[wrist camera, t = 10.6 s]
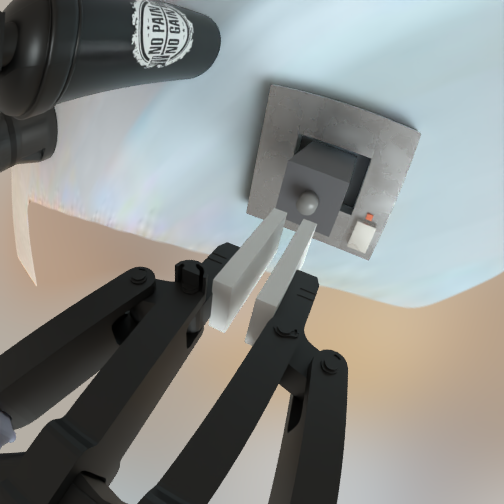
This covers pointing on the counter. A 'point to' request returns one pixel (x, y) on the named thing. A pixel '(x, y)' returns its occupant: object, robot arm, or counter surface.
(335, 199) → the plug
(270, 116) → the socket
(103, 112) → the counter surface
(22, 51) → the water bottle
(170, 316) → the robot arm
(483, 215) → the counter surface
